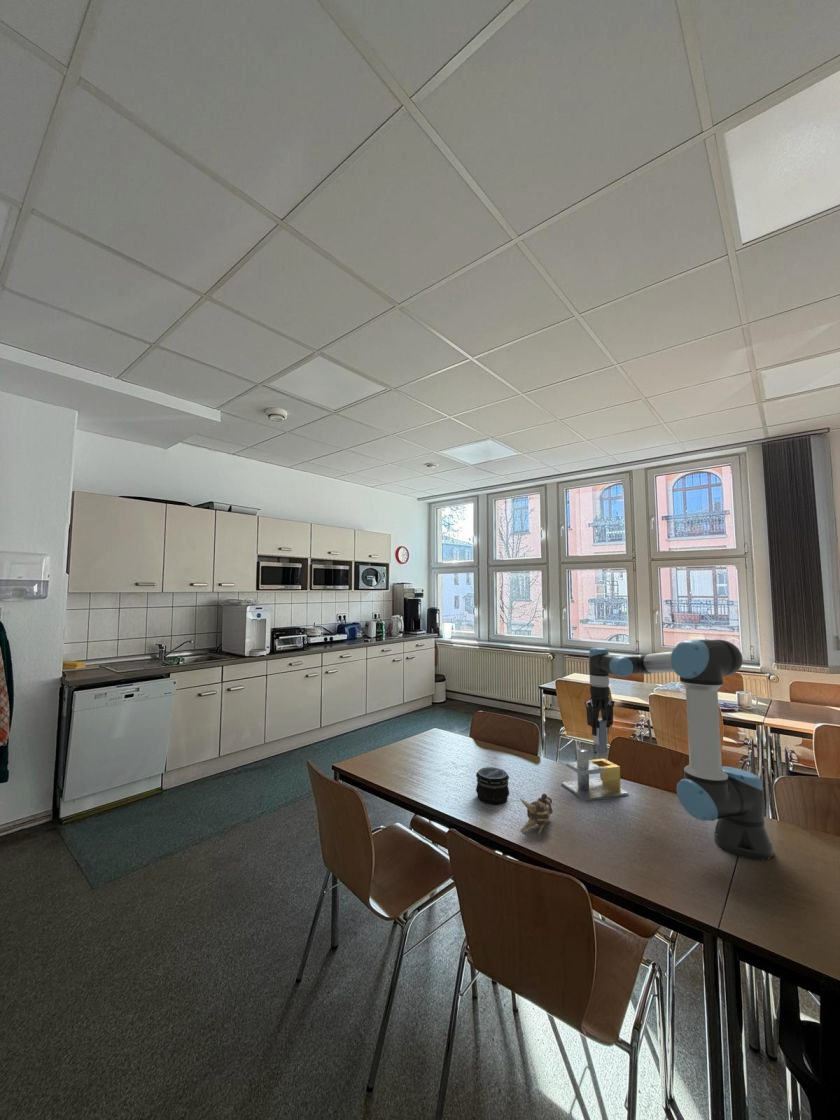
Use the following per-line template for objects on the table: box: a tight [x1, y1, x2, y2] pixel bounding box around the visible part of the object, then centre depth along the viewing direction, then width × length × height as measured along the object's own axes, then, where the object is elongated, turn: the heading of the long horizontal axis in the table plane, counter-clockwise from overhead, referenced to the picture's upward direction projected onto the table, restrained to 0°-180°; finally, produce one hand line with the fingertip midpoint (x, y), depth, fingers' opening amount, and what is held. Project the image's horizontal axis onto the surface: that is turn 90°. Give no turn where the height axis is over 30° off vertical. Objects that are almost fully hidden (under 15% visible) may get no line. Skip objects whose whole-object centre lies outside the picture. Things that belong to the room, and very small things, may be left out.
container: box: [475, 766, 510, 806], centre depth 174 cm, size 13×13×10 cm
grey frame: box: [560, 748, 629, 802], centre depth 184 cm, size 16×20×16 cm
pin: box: [593, 717, 608, 754], centre depth 186 cm, size 4×4×13 cm
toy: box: [519, 793, 554, 835], centre depth 153 cm, size 11×8×15 cm
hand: (600, 742), depth 186 cm, fingers closed on pin, 3 cm apart
